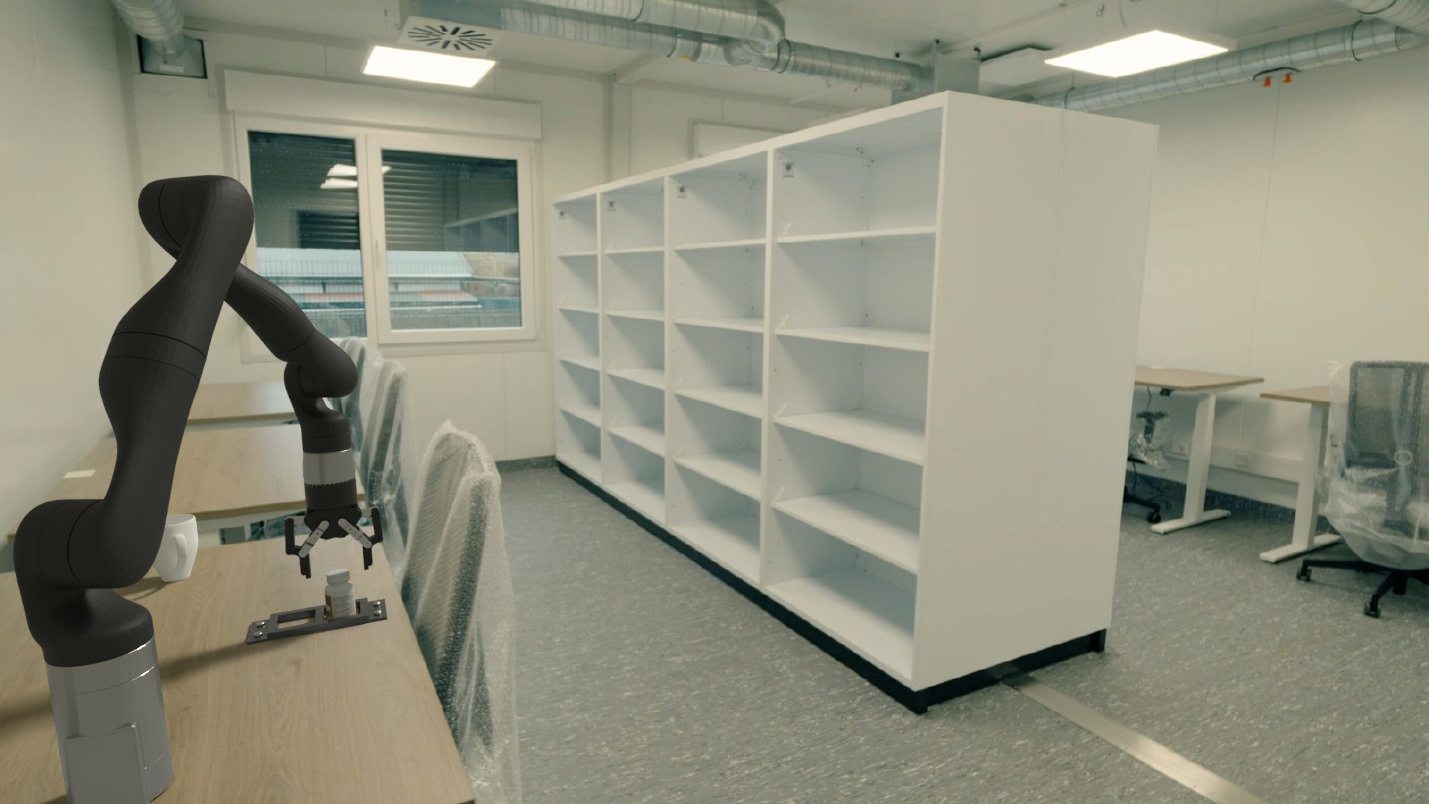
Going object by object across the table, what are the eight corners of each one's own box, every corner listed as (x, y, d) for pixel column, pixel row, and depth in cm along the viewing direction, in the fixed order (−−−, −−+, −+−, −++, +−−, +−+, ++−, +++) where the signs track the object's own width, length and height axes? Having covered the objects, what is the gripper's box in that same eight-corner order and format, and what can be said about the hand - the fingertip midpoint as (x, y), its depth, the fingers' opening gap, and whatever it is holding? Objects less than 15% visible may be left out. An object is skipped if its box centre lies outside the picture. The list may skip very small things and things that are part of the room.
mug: (144, 578, 145) (136, 520, 143) (196, 566, 151) (189, 510, 149) (160, 595, 137) (151, 534, 135) (213, 582, 143) (206, 523, 141)
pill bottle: (327, 614, 128) (323, 570, 127) (356, 609, 130) (352, 565, 129) (326, 624, 124) (322, 579, 123) (356, 619, 126) (352, 574, 125)
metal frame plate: (387, 618, 127) (386, 612, 127) (247, 644, 118) (246, 637, 118) (384, 601, 134) (384, 594, 134) (252, 624, 125) (251, 617, 125)
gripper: (277, 487, 117) (287, 588, 120) (378, 476, 123) (386, 573, 126) (281, 476, 124) (290, 572, 126) (377, 467, 130) (384, 558, 132)
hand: (338, 572), depth 126 cm, fingers open, 8 cm apart
